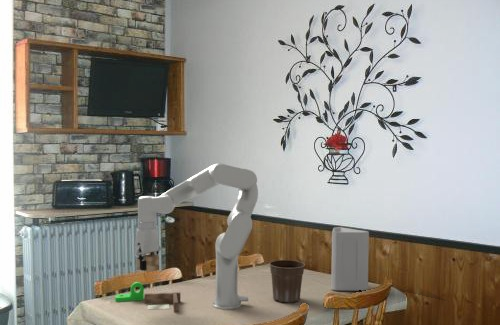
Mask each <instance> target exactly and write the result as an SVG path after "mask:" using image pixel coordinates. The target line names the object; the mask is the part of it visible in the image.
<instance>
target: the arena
mask: <svg viewBox="0 0 500 325" xmlns="http://www.w3.org/2000/svg"><path fill="white" fill-rule="evenodd" d="M143 301H144V304H148V305H147V310H151V311H152V310H153V311H154V310H170V303H172V305H173V312H174V313H178V312H179V310H178V308H179V303H181V292H179V291H177V292H154V293H153V292H149V293H147V292H146V293H144V300H143ZM168 303H169V304H168Z"/></svg>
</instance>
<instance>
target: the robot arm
mask: <svg viewBox="0 0 500 325" xmlns="http://www.w3.org/2000/svg"><path fill="white" fill-rule="evenodd" d="M257 182H258V177H257V175H256V173H255V172H254V171H253V170H250V169H247V168H241V167H237V166H236V167H235V166H232V165H227V164H225V163H220V162H217V163H213V164H211V165H210V166H209V167H207V168H205V169H203V170H202V171H201V170H200V172H198V173H196V174H195V175H193V176H191V177H190V178H188V179H186V180H184V181H183V182H181V183H178V185H176V186H173V187H171V188H170V189H168V190H167V191H166V192H163V193H161V195H158V196H153V195H141V196H139V197H138V198H137V220H138V221H137V230H136V234H135V241H134V250H135V251H134V253H133V255H134V256H135V257H136V259H137V258H138V260H139V261H140V270H139V271H142V270H144V272H146V271H145V270H146V261H145V258H146V254H153V255H159V252H161V249H162V248H161V246H160V239H159V232H158V231H159V230H158V228H157V224H158V222H157V214H163V215H166V214H170V213H172V212H173V211H174V209H175V207H176V206H178V205H179V204H181V203H183V202H185V201H187V200H190V199H193V198H197V197H199V196H201V195H203V194H205V193H207V192H209V191H210V190H212V189H213V188H215V187H216V186H218V185H222V186H227V187H230V188H231V187H232V188H234V189H235V188H236V189H238V195H237V198H236V200H235V203H234V204H233V207H232V209H231V211H230V213H229V214H228V217H227V219H226V222H227V229H226V230H225V232H222V233H220V234H219V235H218V236H217V237H216V241H215V246H214V247H215V249H214V250H215V300H213V301H212V302H211V306H212V307H213V308H215V309H220V310H235V309H238V308H240V307H241V306H242V302H249V296H244V295H242V296H241V295H239V294H238V290H239V289H238V282H239V281H238V279H239V272H238V271H239V255H240V254H241V253H242V251H243V249H244V247H245V245H246V242H247V240H248V238H249V236H250V233H251V232H252V228H253V220H252V218H251V217H252V215H253V212H254V209H255V207H256V205H257V203H258V199H259V189H258V184H257ZM142 255H143V257H142Z"/></svg>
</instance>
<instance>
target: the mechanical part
mask: <svg viewBox="0 0 500 325" xmlns="http://www.w3.org/2000/svg"><path fill="white" fill-rule="evenodd" d="M137 287H138V288H139V290H138V291H136V290H135V288H137ZM144 292H145V291H144V285H143V283H141V282H139V281H135V282H133V283H132V284H131V285H130V293H120V294H116V295H115V297H114V298H115V299H114V300H115V302H116V303H117V302H131V301H144V294H145V293H144Z"/></svg>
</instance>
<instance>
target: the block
mask: <svg viewBox="0 0 500 325" xmlns="http://www.w3.org/2000/svg"><path fill="white" fill-rule="evenodd" d="M142 257H143V255H142ZM145 261H146V270H145V271H144V270H140V261H139V260H138V258H137V257H136V270H138V271H144V272H148V273H151V272H152V273H153V272H156V271H158V270H160V255H159V254H158V255H153V254H150V253H147V254H146V258H145Z"/></svg>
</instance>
